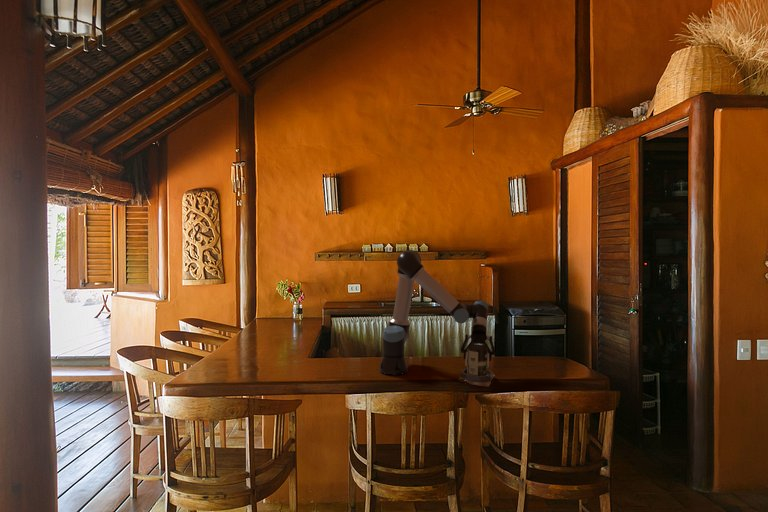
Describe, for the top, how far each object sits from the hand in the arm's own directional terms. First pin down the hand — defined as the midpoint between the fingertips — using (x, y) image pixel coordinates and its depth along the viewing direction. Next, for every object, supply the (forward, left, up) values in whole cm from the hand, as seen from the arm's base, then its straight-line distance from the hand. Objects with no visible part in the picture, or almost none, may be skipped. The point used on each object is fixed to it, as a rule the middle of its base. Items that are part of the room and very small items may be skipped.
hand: (476, 365), depth 238 cm
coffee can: (-1, +3, -6) cm, 6 cm away
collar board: (-1, +3, -8) cm, 9 cm away
